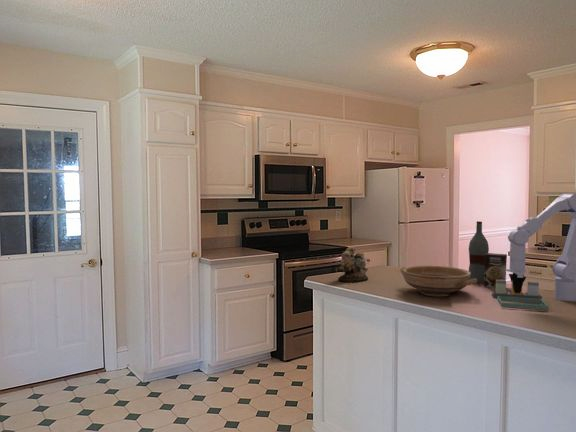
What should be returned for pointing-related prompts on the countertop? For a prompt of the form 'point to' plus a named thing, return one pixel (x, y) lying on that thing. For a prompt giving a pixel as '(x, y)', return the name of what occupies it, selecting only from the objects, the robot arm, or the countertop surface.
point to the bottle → (478, 254)
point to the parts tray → (518, 305)
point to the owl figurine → (353, 266)
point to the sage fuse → (501, 286)
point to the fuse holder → (508, 294)
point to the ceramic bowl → (437, 279)
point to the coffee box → (494, 269)
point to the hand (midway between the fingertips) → (516, 292)
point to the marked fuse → (513, 291)
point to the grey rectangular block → (532, 288)
